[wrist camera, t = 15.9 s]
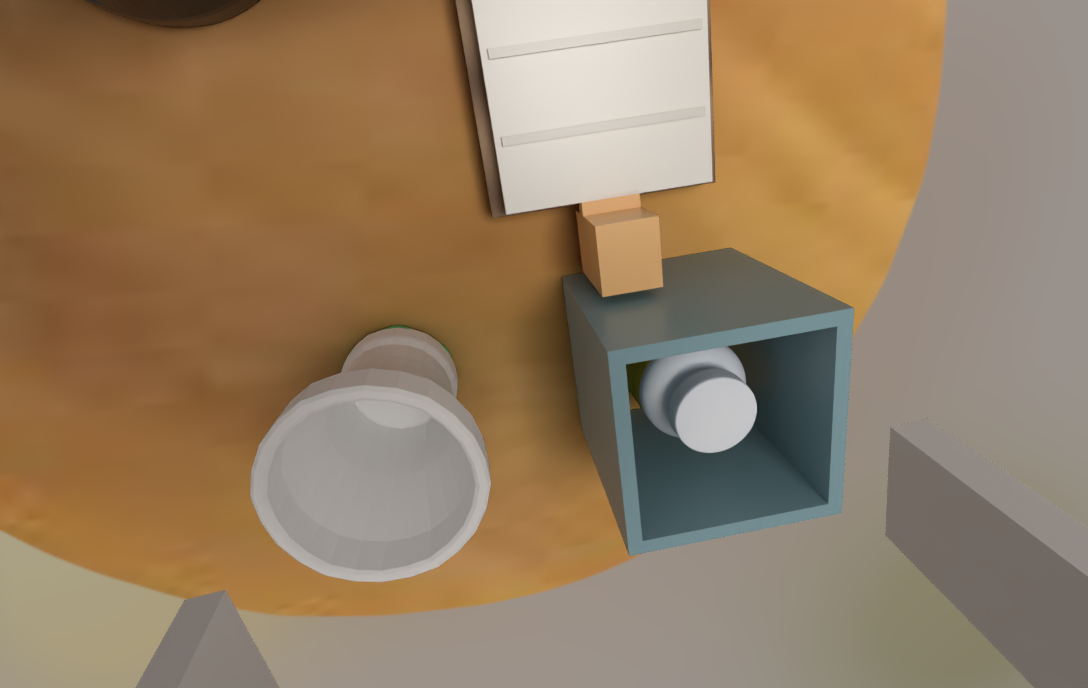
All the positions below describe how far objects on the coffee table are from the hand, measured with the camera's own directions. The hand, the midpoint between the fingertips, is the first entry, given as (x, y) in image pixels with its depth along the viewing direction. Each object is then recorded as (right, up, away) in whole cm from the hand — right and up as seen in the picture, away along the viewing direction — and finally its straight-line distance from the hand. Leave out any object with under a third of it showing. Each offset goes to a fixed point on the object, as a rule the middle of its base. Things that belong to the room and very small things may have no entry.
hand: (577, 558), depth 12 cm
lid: (+2, +17, +24) cm, 29 cm away
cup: (-11, +2, +30) cm, 32 cm away
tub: (+7, +4, +31) cm, 32 cm away
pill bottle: (+7, +4, +31) cm, 33 cm away
